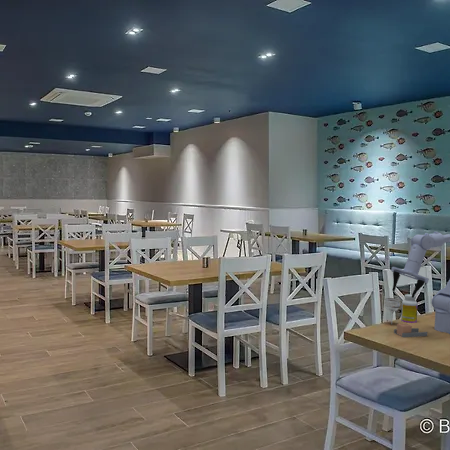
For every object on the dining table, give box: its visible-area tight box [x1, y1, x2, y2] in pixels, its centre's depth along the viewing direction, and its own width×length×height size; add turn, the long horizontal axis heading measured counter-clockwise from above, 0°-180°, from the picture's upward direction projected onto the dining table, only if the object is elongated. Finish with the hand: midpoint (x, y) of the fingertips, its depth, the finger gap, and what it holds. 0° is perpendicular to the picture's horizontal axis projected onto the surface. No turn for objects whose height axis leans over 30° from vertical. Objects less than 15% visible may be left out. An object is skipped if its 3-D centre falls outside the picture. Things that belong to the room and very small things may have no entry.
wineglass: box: [384, 297, 402, 325], centre depth 221 cm, size 7×7×12 cm
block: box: [396, 323, 413, 337], centre depth 205 cm, size 4×4×4 cm
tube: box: [393, 327, 428, 338], centre depth 206 cm, size 11×6×3 cm, turn 103°
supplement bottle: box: [400, 293, 419, 324], centre depth 228 cm, size 7×7×13 cm
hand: (402, 294), depth 204 cm, fingers open, 7 cm apart
